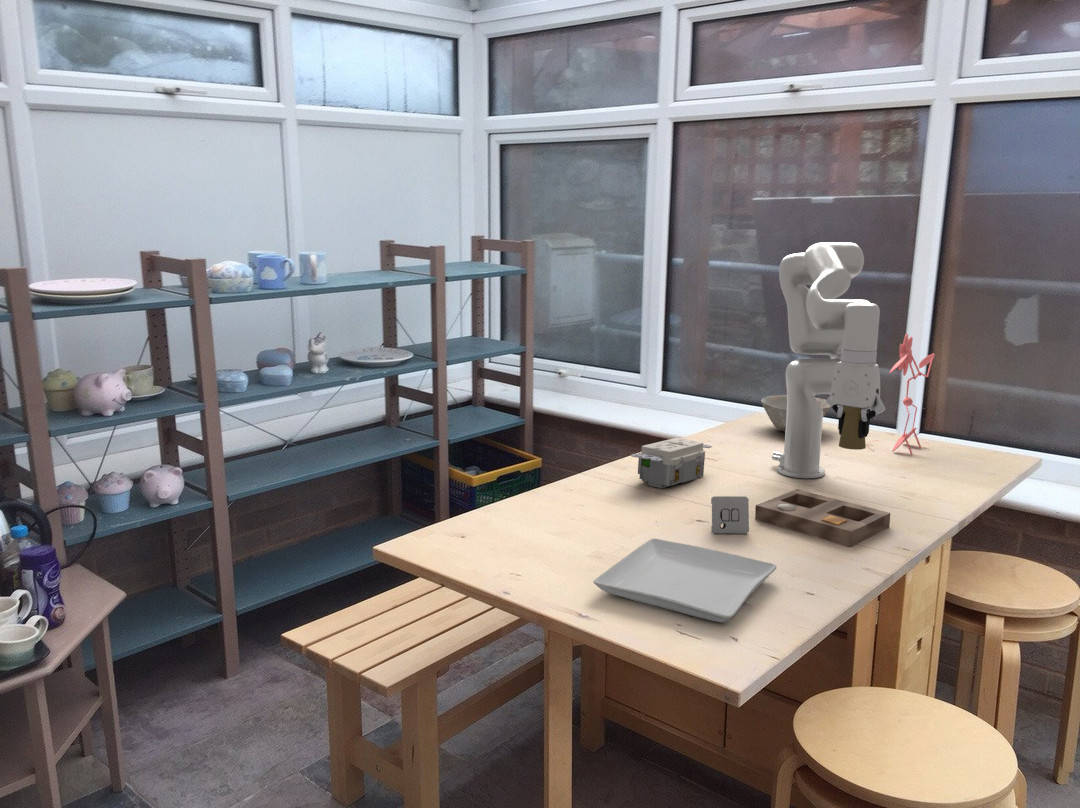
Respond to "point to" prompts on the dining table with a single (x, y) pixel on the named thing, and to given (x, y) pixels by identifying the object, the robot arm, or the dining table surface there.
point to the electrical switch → (730, 514)
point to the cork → (851, 430)
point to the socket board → (823, 517)
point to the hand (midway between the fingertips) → (853, 434)
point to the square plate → (686, 579)
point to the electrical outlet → (671, 462)
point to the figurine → (903, 364)
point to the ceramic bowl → (784, 409)
